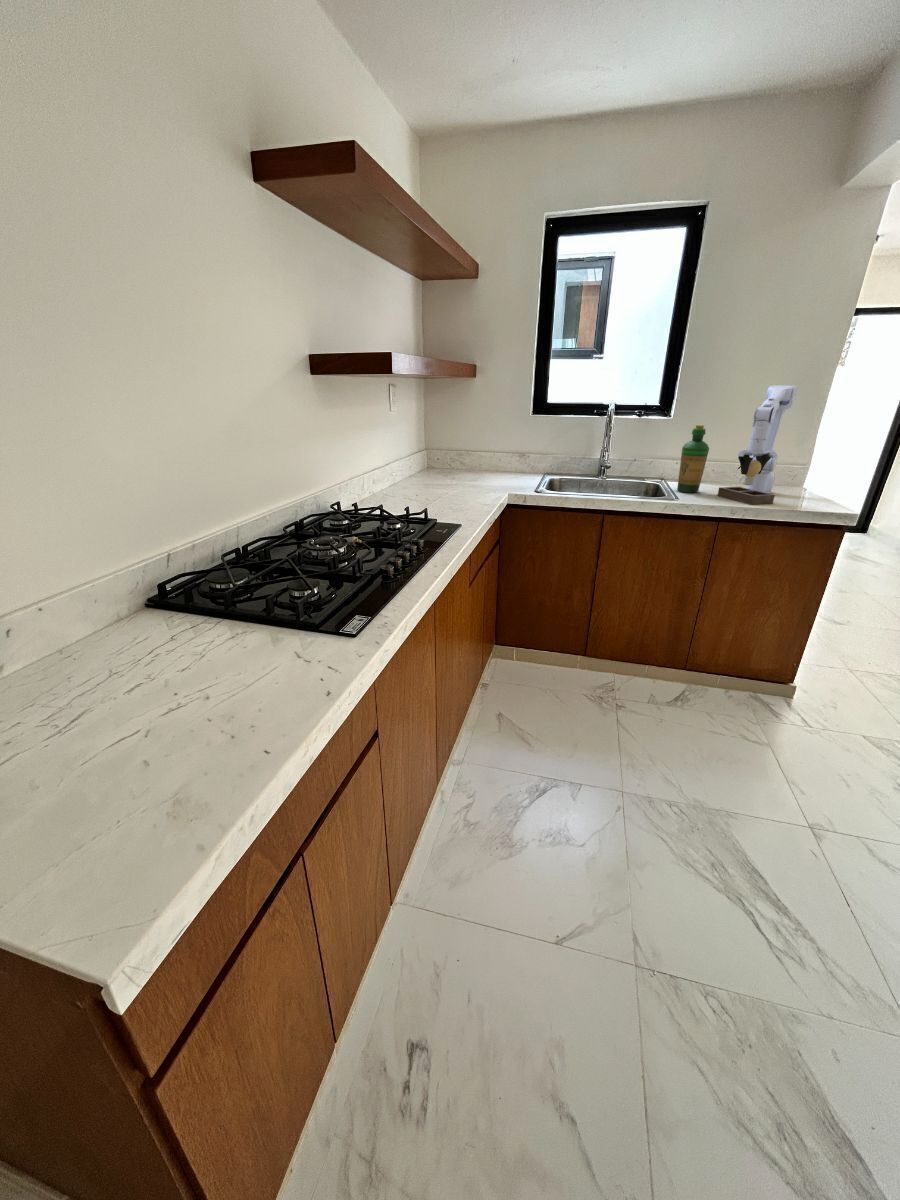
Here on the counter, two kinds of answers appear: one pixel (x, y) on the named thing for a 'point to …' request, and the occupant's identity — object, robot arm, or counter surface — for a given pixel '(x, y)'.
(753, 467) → the light bulb
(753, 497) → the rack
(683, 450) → the bottle
